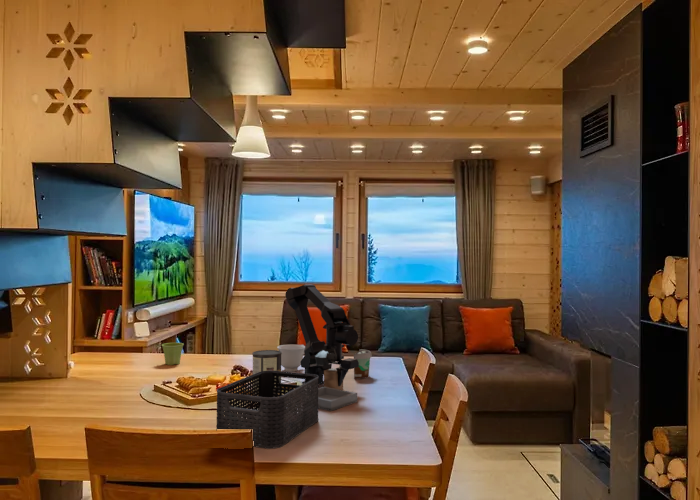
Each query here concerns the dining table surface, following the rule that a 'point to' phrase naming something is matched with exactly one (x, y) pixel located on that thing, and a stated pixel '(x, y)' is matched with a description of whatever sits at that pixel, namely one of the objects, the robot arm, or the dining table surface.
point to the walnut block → (331, 379)
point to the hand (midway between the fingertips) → (333, 385)
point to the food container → (362, 364)
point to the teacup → (291, 356)
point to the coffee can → (266, 361)
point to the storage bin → (269, 407)
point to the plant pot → (172, 353)
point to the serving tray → (335, 398)
